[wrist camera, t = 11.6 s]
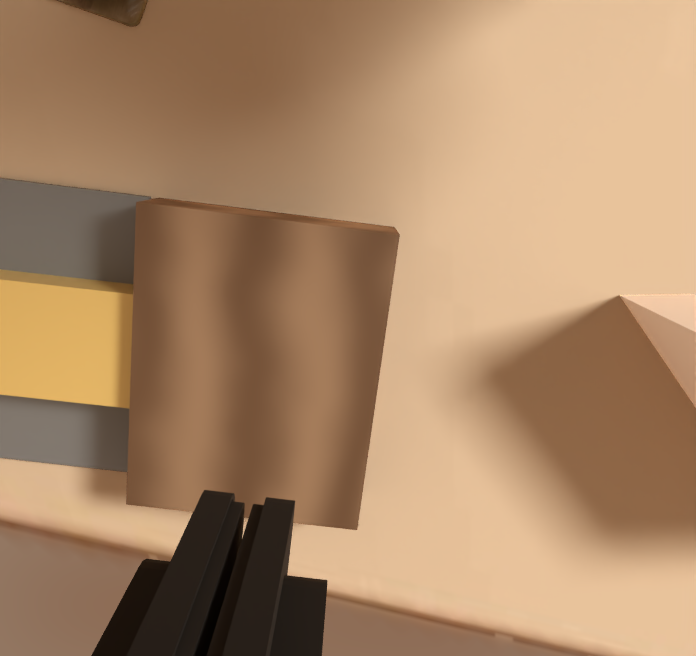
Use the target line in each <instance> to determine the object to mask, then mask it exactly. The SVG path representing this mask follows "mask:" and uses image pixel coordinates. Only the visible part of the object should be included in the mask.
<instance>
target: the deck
mask: <svg viewBox="0 0 696 656" xmlns="http://www.w3.org/2000/svg"><path fill="white" fill-rule="evenodd" d="M398 242H399V233H398V232H397V230H396V229H395V227H388V226H380V225H372V224H364V223H356V222H348V221H340V220H332V219H324V218H316V217H308V216H300V215H292V214H284V213H276V212H268V211H260V210H252V209H244V208H236V207H228V206H220V205H212V204H204V203H196V202H188V201H180V200H172V199H164V198H156V199H150V200H144V201H139V202H136V221H135V252H134V283H133V314H132V345H131V376H130V407H129V438H128V469H127V500H126V504H128V505H137V506H146V507H155V508H164V509H173V510H182V511H191V512H194V510H195V508H196V505H197V503H198V501H199V499H200V497H201V495H202V493H203V491H204V490H211V491H220V492H228V493H234V494H235V502H243V503H245V511H244V517H245V518H249V516H250V512H251V509H252V506H253V504H260V505H264V502H265V499H266V497H270V498H278V499H286V500H295V510H294V519H293V523H299V524H308V525H316V526H325V527H334V528H343V529H352V530H357V527H358V520H359V513H360V506H361V499H362V492H363V485H364V478H365V471H366V464H367V457H368V450H369V444H370V437H371V430H372V423H373V416H374V409H375V402H376V395H377V388H378V381H379V374H380V367H381V360H382V353H383V346H384V339H385V333H386V326H387V319H388V312H389V305H390V298H391V291H392V284H393V277H394V270H395V263H396V256H397V249H398Z"/></svg>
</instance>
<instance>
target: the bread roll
mask: <svg viewBox="0 0 696 656" xmlns="http://www.w3.org/2000/svg"><path fill="white" fill-rule="evenodd" d="M57 1H60V2H63V3H65V4H68V5H71V6H74V7H77V8H80V9H83V10H84V11H88V12H91V13H94V14H96V15H99V16H102V17H105V18H108V19H111V20H113V21H117V22H120V23H122V24H125V25H128V26H137V25H138V24H139V23H140V20H141V18H142V15H143V12H144V10H145V7H146V4H147V0H57Z"/></svg>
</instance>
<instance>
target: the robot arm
mask: <svg viewBox="0 0 696 656" xmlns="http://www.w3.org/2000/svg"><path fill="white" fill-rule="evenodd" d="M294 510H295V500H286V499H278V498H270V497H266V499H265V502H264V505H260V504H253V506H252V509H251V512H250V516H249V519H248V522H247V525H246V529H245V532H244V535H243V538H242V534H243V522H244V511H245V503H243V502H235V494H234V493H228V492H220V491H211V490H204V491H203V493H202V495H201V497H200V499H199V501H198V503H197V505H196V508H195V510H194V512H193V514H192V516H191V518H190V520H189V523H188V525H187V527H186V529H185V531H184V533H183V536H182V538H181V540H180V542H179V544H178V546H177V549H176V551H175V553H174V555H173V557H172V559H171V561H170V562H168V561H160V560H152V559H145V560H144V561H142V563H141V565H140V566H139V568H138V570H137V572H136V573H135V575H134V577H133V579H132V581H131V583H130V585H129V586H128V588H127V590H126V592H125V594H124V596H123V598H122V599H121V601H120V603H119V605H118V607H117V609H116V611H115V613H114V615H113V617H112V618H111V620H110V622H109V624H108V626H107V628H106V630H105V631H104V633H103V635H102V637H101V639H100V641H99V643H98V644H97V647H96V648H95V650H94V652H93V654H92V656H322V645H323V632H324V631H323V630H324V619H325V606H326V593H327V580H321V579H312V578H304V577H295V576H287V572H288V563H289V555H290V546H291V537H292V528H293V519H294Z"/></svg>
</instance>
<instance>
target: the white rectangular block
mask: <svg viewBox="0 0 696 656" xmlns="http://www.w3.org/2000/svg"><path fill="white" fill-rule="evenodd" d="M619 296H620V297H621V299H622V300H623V302H624V303H625V304H626V306H627V307H628V309H629V310H630V312H631V313H632V315H633V316H634V318H635V319H636V321H637V322H638V324H639V325H640V327H641V328H642V330H643V331H644V332H645V334H646V335H647V337H648V338H649V340H650V341H651V343H652V344H653V346H654V347H655V349H656V350H657V352H658V353H659V355H660V356H661V358H662V359H663V361H664V362H665V363H666V365H667V366H668V368H669V369H670V371H671V372H672V374H673V375H674V377H675V378H676V380H677V381H678V383H679V384H680V386H681V387H682V389H683V390H684V391H685V393H686V394H687V396H688V397H689V399H690V400H691V402H692V403H693V405H694V406H695V408H696V294H653V295H619Z"/></svg>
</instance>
